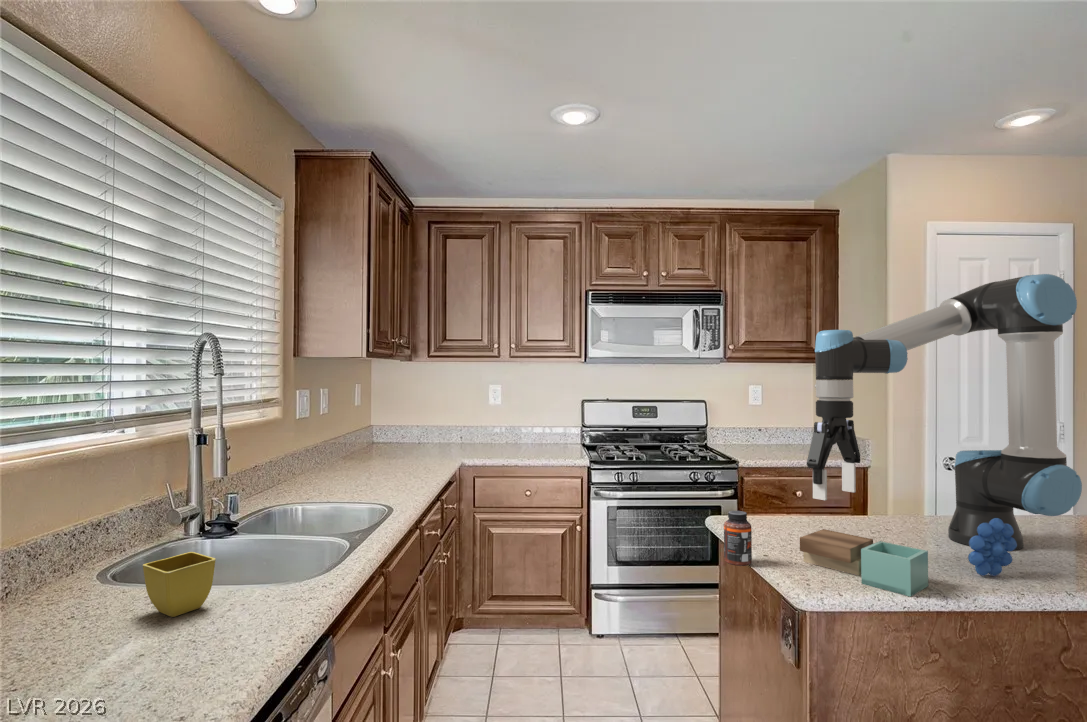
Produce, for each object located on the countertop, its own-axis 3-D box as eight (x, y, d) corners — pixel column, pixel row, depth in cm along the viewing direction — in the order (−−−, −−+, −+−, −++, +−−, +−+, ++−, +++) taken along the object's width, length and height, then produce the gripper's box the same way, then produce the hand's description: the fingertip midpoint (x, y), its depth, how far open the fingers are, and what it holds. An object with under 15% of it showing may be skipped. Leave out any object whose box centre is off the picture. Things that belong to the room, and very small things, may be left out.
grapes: (995, 567, 130) (994, 512, 130) (1026, 577, 124) (1025, 519, 124) (951, 571, 127) (950, 515, 128) (981, 582, 121) (980, 522, 121)
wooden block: (816, 556, 138) (816, 543, 138) (871, 569, 129) (870, 555, 129) (803, 561, 134) (803, 548, 134) (858, 575, 125) (858, 561, 125)
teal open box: (880, 574, 126) (879, 540, 126) (928, 585, 119) (927, 550, 119) (861, 583, 120) (861, 549, 120) (910, 596, 113) (910, 559, 113)
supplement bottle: (753, 567, 130) (753, 516, 131) (725, 566, 131) (724, 514, 132) (749, 559, 136) (749, 509, 136) (722, 557, 137) (722, 508, 138)
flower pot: (165, 624, 102) (166, 572, 102) (141, 614, 107) (141, 563, 107) (216, 607, 110) (217, 558, 110) (191, 598, 114) (191, 551, 114)
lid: (823, 541, 139) (823, 529, 139) (873, 552, 131) (873, 539, 131) (799, 550, 132) (799, 537, 132) (850, 563, 124) (850, 548, 124)
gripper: (843, 397, 143) (843, 486, 143) (789, 400, 127) (789, 499, 127) (876, 398, 137) (876, 490, 137) (823, 401, 121) (824, 505, 121)
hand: (834, 495), depth 132 cm, fingers open, 13 cm apart
